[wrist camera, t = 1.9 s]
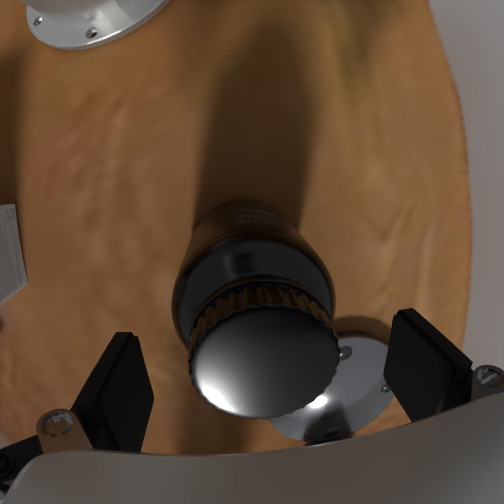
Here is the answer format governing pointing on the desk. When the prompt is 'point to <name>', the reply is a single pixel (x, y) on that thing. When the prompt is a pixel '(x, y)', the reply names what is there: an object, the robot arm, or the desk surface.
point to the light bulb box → (10, 254)
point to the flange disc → (344, 393)
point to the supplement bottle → (255, 313)
